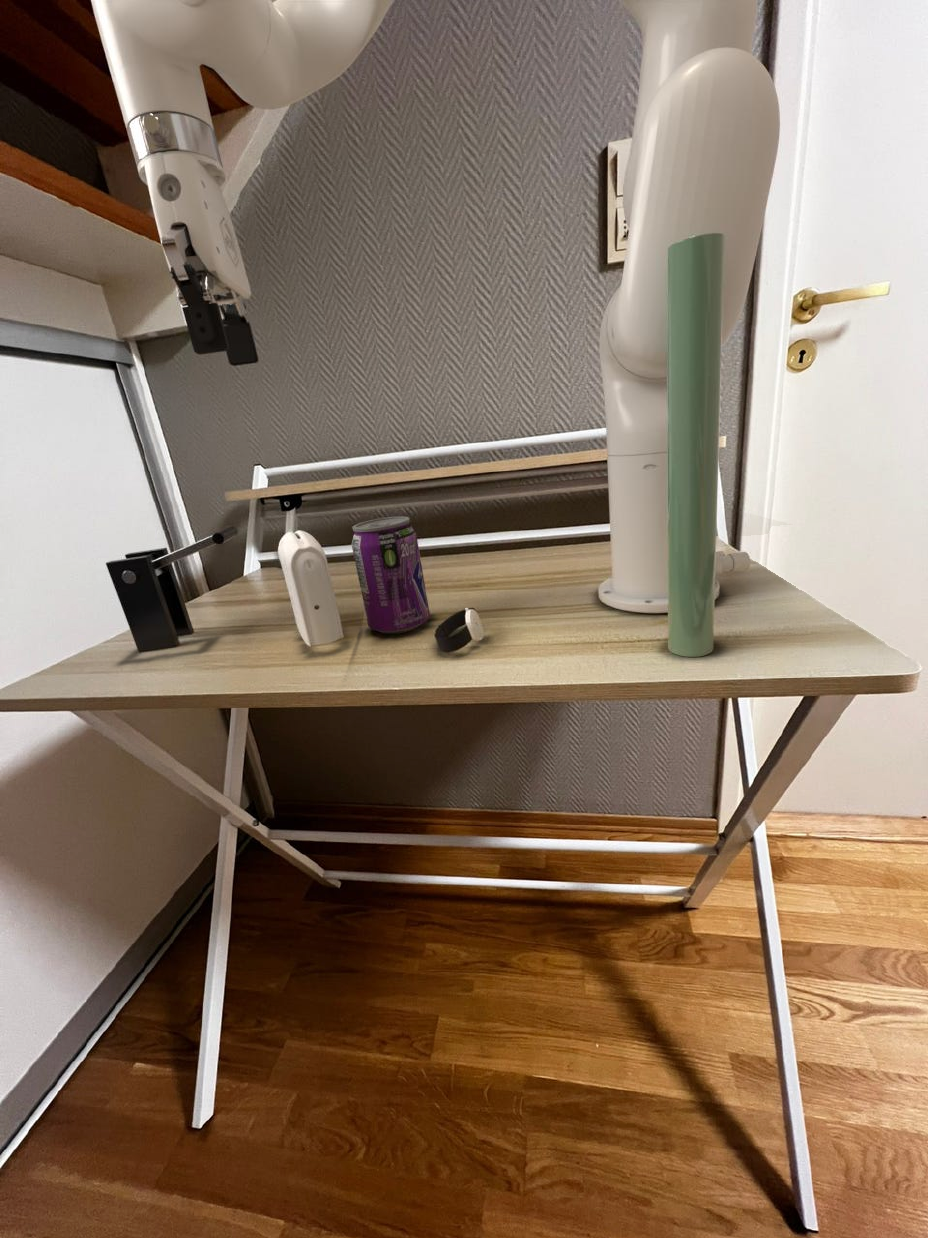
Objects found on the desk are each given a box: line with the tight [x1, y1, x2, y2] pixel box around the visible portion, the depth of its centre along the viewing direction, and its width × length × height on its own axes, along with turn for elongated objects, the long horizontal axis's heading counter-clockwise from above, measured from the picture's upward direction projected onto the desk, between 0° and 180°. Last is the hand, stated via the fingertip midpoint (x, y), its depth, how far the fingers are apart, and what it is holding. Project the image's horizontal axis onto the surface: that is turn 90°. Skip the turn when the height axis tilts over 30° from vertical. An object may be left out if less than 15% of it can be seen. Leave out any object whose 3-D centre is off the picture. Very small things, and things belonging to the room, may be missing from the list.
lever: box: [149, 525, 238, 576], centre depth 61 cm, size 13×4×2 cm, turn 95°
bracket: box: [105, 547, 195, 654], centre depth 62 cm, size 9×6×12 cm, turn 94°
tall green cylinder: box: [667, 233, 725, 658], centre depth 41 cm, size 4×4×30 cm
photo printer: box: [277, 529, 344, 647], centre depth 59 cm, size 10×4×12 cm, turn 25°
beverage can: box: [351, 515, 431, 635], centre depth 59 cm, size 7×7×12 cm
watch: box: [434, 607, 484, 654], centre depth 54 cm, size 8×5×4 cm, turn 167°
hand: (229, 358), depth 56 cm, fingers open, 9 cm apart
